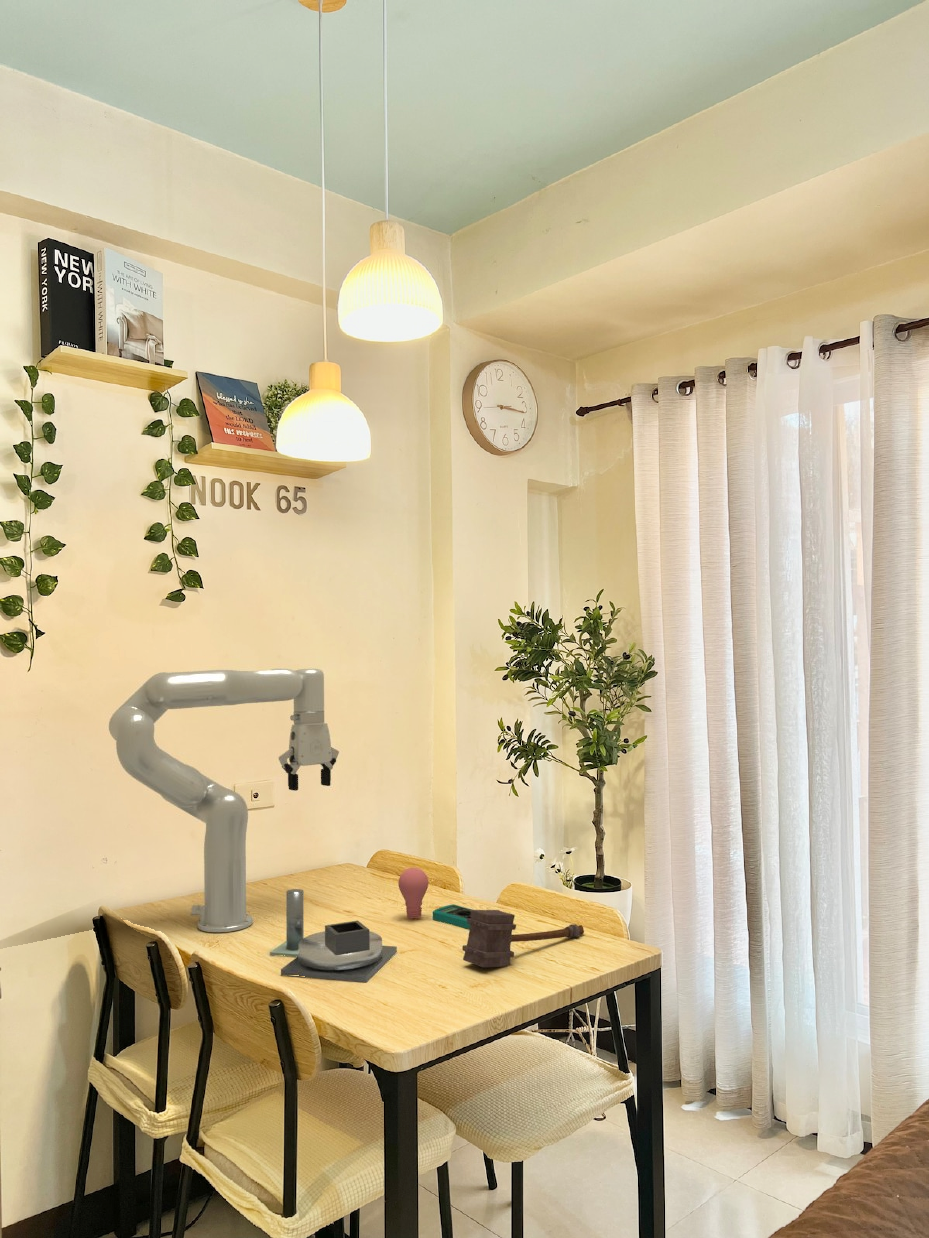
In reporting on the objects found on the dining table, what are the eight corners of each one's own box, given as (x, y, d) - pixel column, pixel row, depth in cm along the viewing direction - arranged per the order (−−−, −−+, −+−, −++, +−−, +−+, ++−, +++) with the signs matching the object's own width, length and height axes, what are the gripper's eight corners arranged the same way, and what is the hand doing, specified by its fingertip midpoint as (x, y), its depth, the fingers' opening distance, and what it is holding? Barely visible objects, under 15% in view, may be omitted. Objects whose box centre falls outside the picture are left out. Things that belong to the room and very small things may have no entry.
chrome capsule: (291, 951, 194) (291, 893, 194) (283, 947, 196) (283, 890, 197) (306, 947, 196) (306, 891, 197) (298, 944, 199) (298, 888, 199)
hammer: (459, 959, 185) (466, 908, 186) (567, 955, 206) (572, 909, 208) (482, 968, 180) (489, 915, 181) (590, 962, 201) (595, 915, 202)
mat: (269, 954, 194) (269, 952, 194) (285, 943, 201) (285, 940, 201) (303, 957, 192) (303, 954, 192) (317, 945, 199) (317, 943, 199)
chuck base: (280, 975, 181) (280, 969, 181) (318, 946, 199) (318, 940, 199) (366, 982, 177) (366, 975, 177) (396, 952, 194) (396, 946, 194)
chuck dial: (312, 975, 176) (312, 939, 177) (289, 950, 192) (288, 917, 192) (394, 961, 184) (394, 926, 184) (365, 937, 199) (365, 906, 199)
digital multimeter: (477, 933, 207) (477, 920, 207) (431, 921, 218) (431, 908, 218) (498, 926, 213) (498, 913, 213) (452, 914, 223) (452, 902, 223)
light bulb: (411, 924, 213) (410, 873, 214) (392, 918, 219) (392, 867, 219) (434, 918, 218) (434, 867, 218) (416, 912, 223) (415, 862, 224)
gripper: (288, 721, 219) (289, 793, 218) (346, 716, 231) (346, 785, 231) (270, 720, 224) (271, 790, 224) (328, 715, 237) (328, 782, 236)
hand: (309, 787), depth 227 cm, fingers open, 9 cm apart
